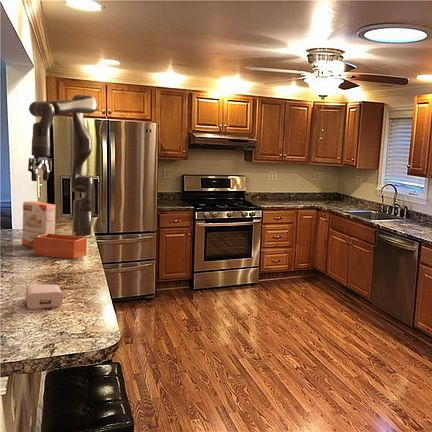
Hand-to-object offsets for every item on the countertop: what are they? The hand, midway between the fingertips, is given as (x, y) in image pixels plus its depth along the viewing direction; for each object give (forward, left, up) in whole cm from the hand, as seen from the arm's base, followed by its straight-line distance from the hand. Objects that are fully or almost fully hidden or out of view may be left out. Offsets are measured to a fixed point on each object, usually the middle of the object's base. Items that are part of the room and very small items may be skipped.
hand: (39, 180), depth 215 cm
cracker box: (+1, +1, -31) cm, 31 cm away
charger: (+71, +47, -31) cm, 91 cm away
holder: (+11, +17, -31) cm, 37 cm away
